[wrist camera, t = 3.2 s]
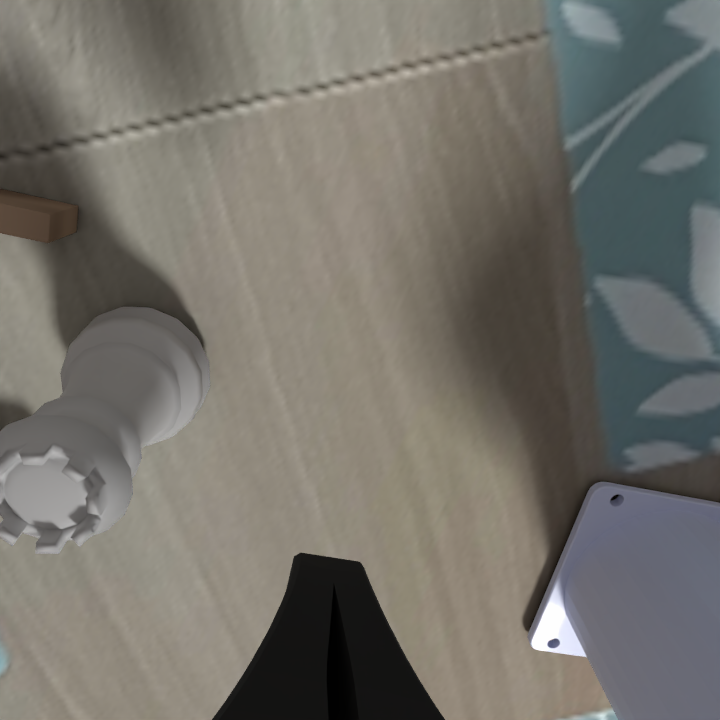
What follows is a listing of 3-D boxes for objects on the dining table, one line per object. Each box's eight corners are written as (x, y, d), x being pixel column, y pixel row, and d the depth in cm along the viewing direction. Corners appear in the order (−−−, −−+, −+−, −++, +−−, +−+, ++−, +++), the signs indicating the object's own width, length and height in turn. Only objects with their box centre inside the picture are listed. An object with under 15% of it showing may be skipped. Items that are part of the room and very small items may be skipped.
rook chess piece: (70, 412, 20) (-76, 572, 13) (83, 287, 19) (-74, 387, 12) (202, 437, 21) (135, 604, 14) (223, 319, 20) (161, 433, 12)
